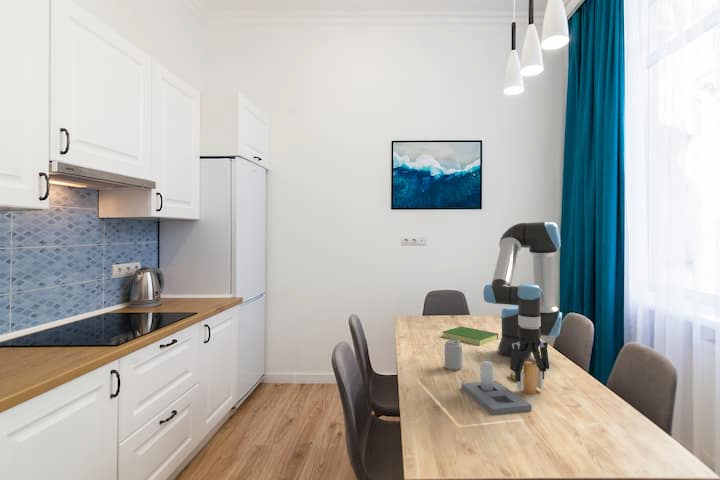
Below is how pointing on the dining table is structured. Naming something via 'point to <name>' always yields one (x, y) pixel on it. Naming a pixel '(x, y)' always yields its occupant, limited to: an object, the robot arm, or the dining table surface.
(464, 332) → the hardcover book
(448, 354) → the can
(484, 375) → the white rounded peg
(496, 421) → the dining table surface
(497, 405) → the housing
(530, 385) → the tan tapered peg
